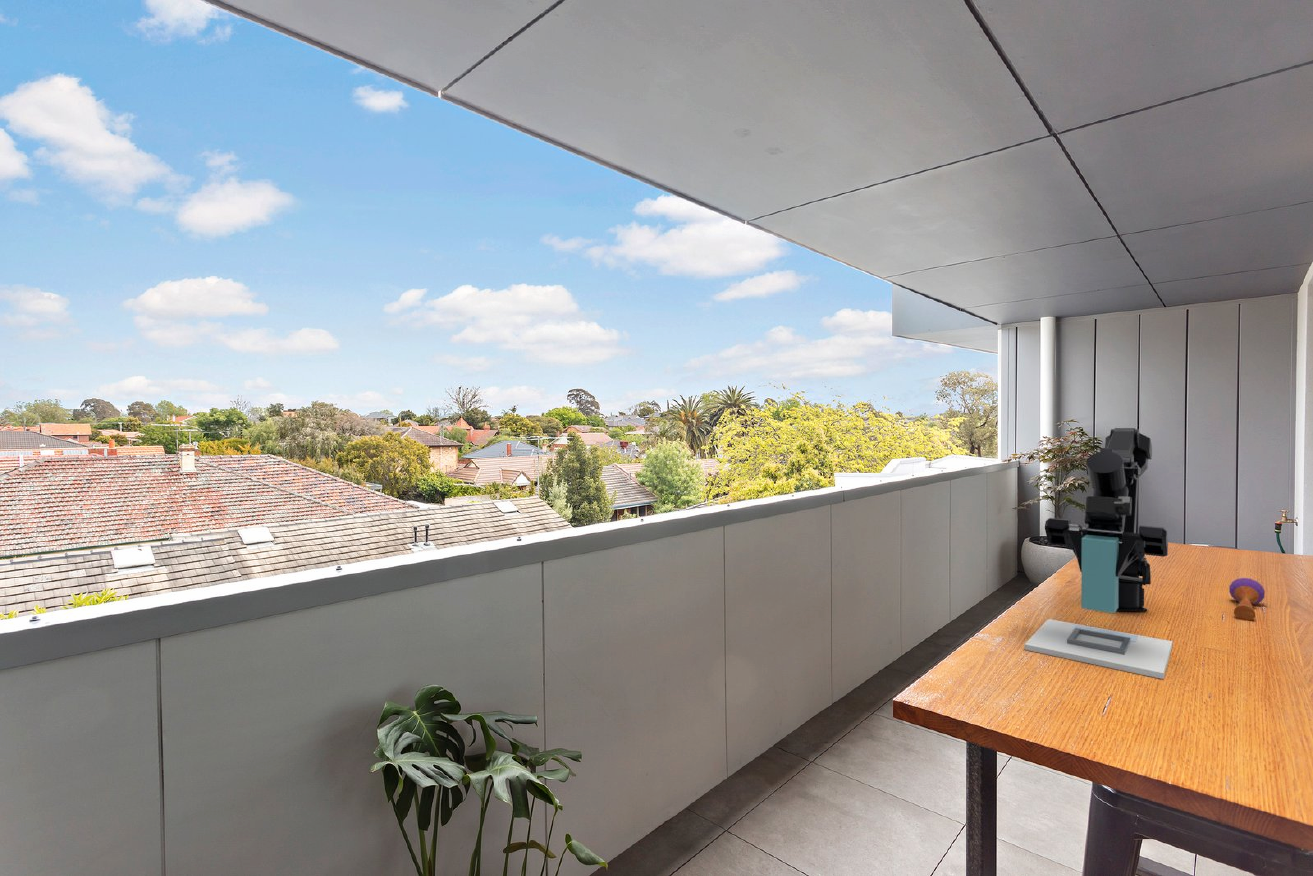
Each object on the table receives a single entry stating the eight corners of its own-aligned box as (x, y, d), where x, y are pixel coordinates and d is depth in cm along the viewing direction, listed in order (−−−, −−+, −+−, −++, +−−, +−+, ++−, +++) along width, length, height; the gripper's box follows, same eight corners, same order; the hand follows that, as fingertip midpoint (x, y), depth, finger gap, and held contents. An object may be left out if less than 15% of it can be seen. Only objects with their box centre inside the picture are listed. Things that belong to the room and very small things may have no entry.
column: (1086, 602, 119) (1086, 534, 118) (1118, 607, 115) (1118, 537, 115) (1081, 608, 115) (1081, 538, 115) (1114, 613, 112) (1115, 541, 111)
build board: (1048, 623, 129) (1048, 615, 129) (1172, 646, 116) (1172, 637, 116) (1024, 649, 115) (1024, 639, 115) (1163, 679, 101) (1163, 668, 101)
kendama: (1222, 599, 133) (1227, 575, 147) (1229, 626, 133) (1233, 600, 147) (1260, 599, 129) (1261, 575, 143) (1267, 628, 129) (1267, 600, 143)
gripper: (1046, 477, 124) (1033, 540, 116) (1167, 483, 111) (1161, 554, 103) (1054, 512, 130) (1042, 574, 122) (1170, 521, 117) (1165, 591, 109)
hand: (1098, 573), depth 114 cm, fingers closed on column, 5 cm apart
